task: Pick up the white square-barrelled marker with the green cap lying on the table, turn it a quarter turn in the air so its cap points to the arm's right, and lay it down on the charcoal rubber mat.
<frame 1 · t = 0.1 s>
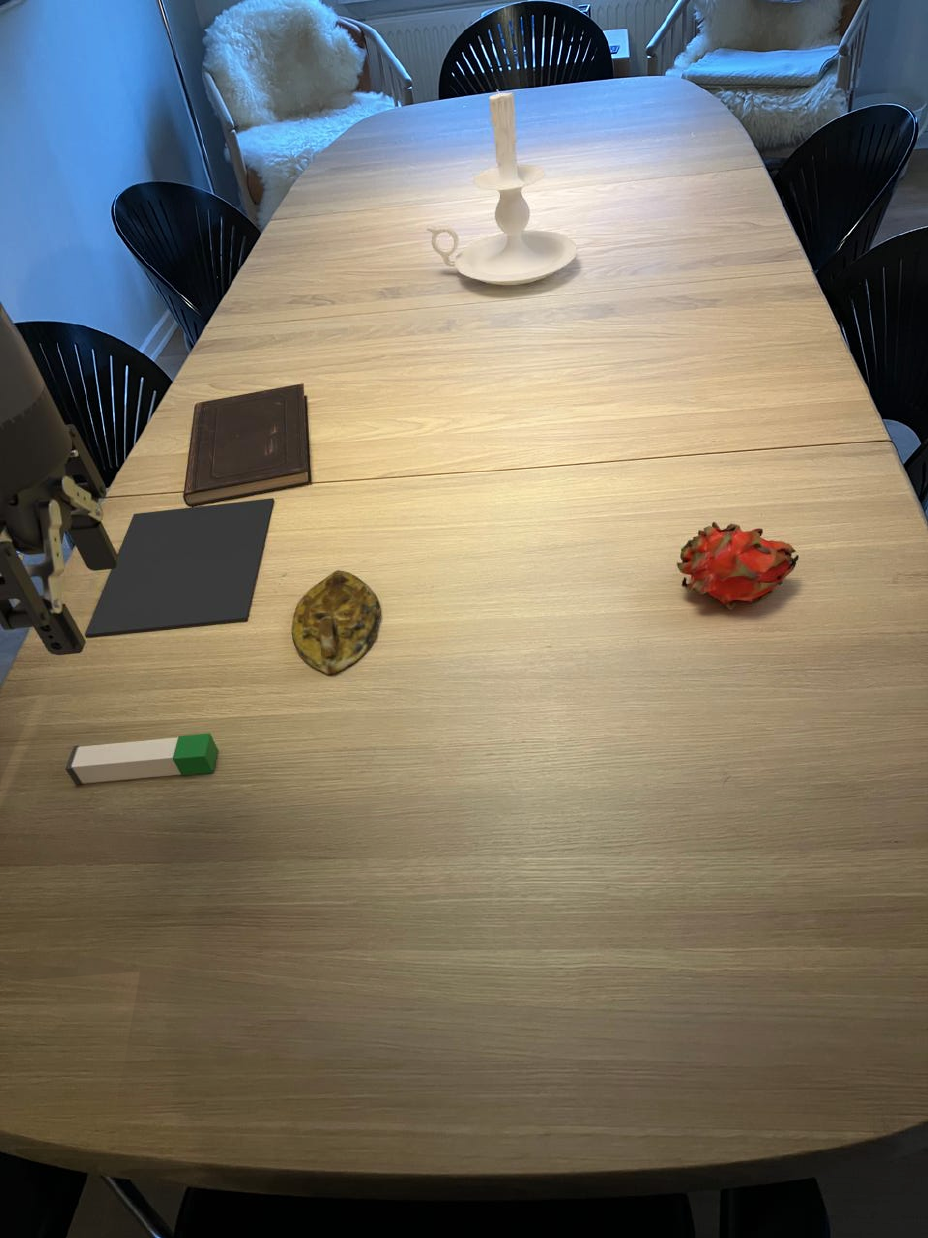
hand: (88, 606, 63), 25 cm above the table, tool pointing down, fingers open, 8 cm apart
marker: (215, 761, 85), on the table
hardcover book: (251, 450, 125), on the table
candlestick: (505, 274, 157), on the table
dragon fruit: (734, 591, 93), on the table
seal: (337, 625, 97), on the table
mat: (186, 564, 108), on the table
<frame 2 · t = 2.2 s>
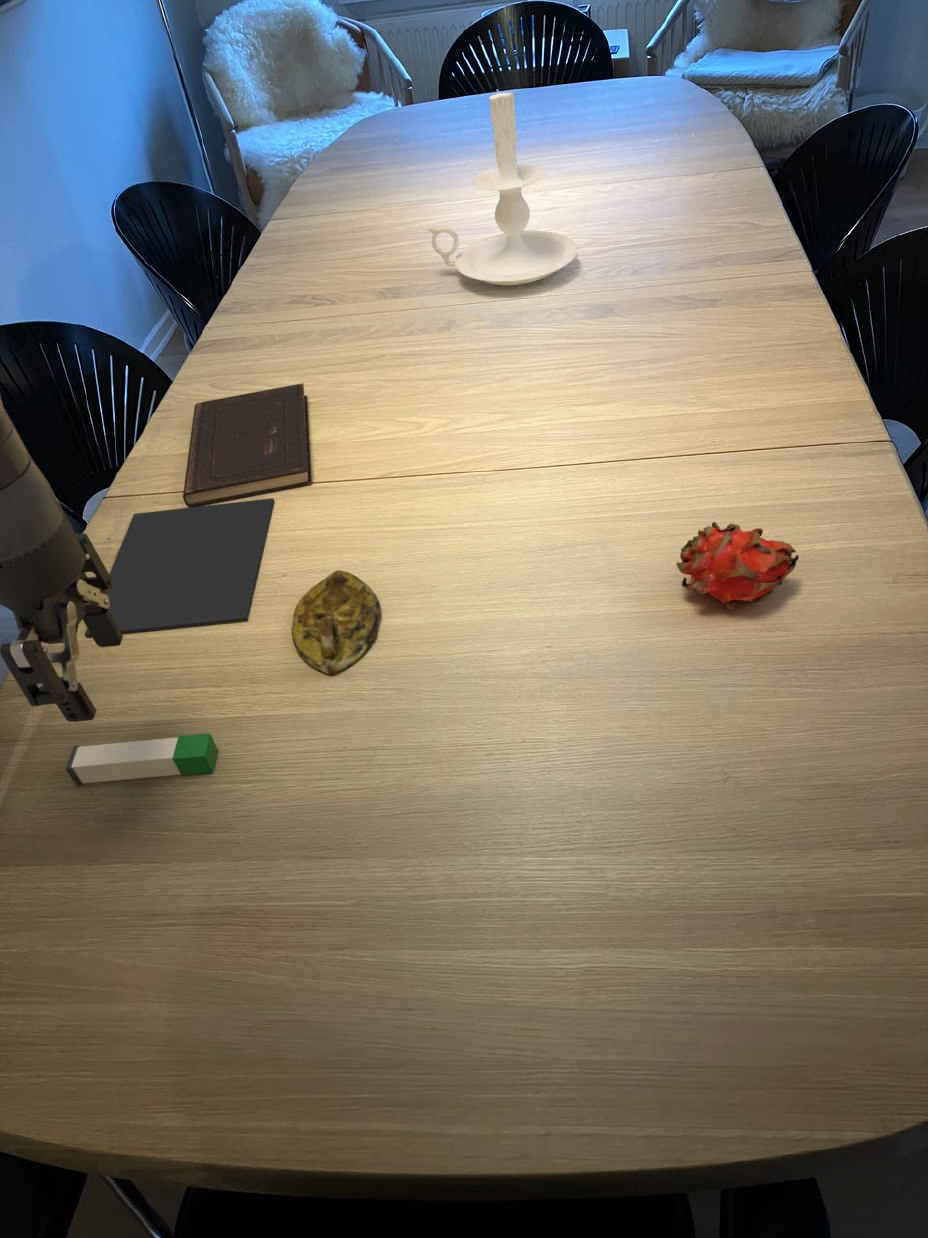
hand: (98, 679, 77), 12 cm above the table, tool pointing down, fingers open, 8 cm apart
nothing on the table moved.
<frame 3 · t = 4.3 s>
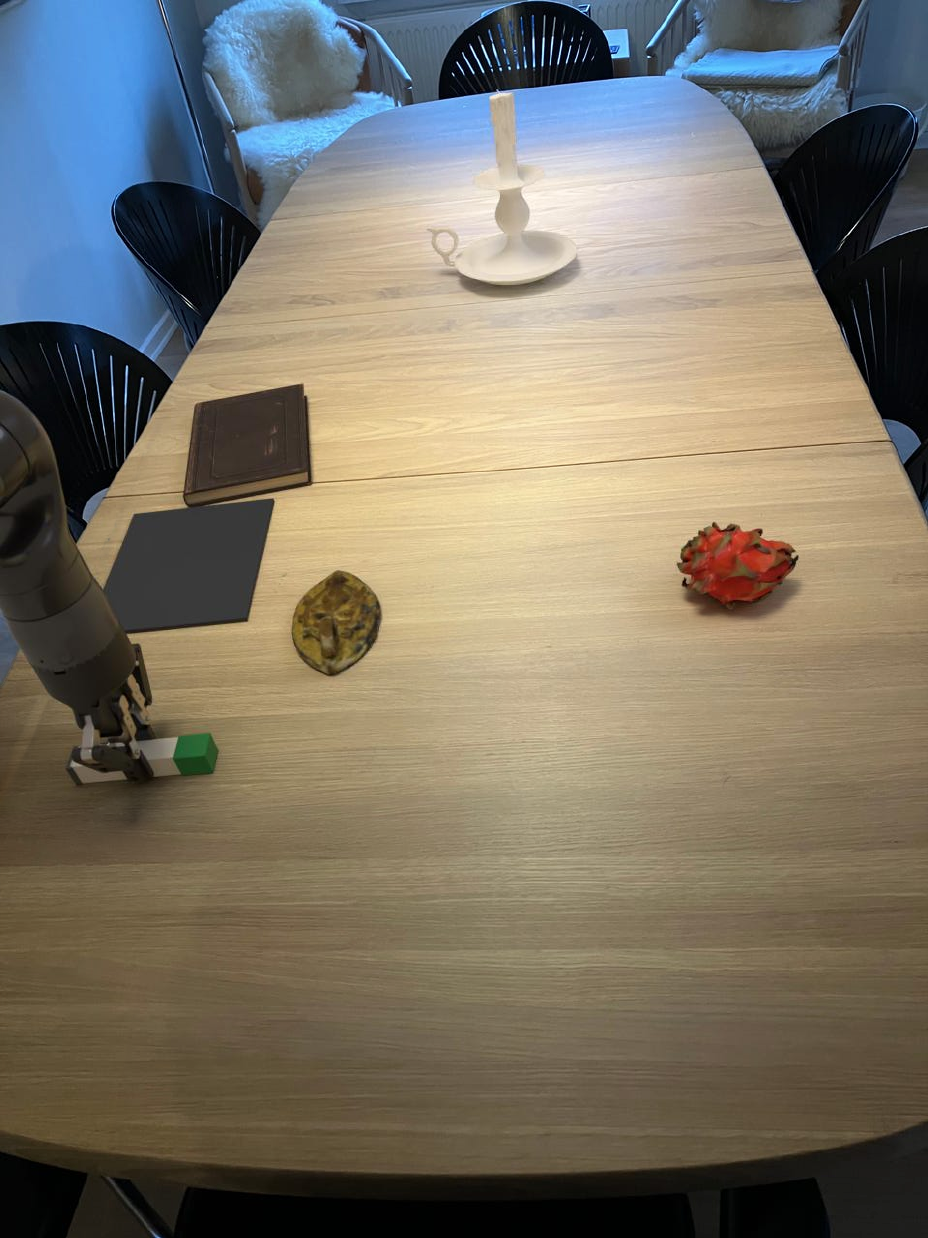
hand: (146, 765, 85), 0 cm above the table, tool pointing down, fingers closed on marker, 2 cm apart
marker: (215, 761, 85), on the table, touching gripper
everything else where it was.
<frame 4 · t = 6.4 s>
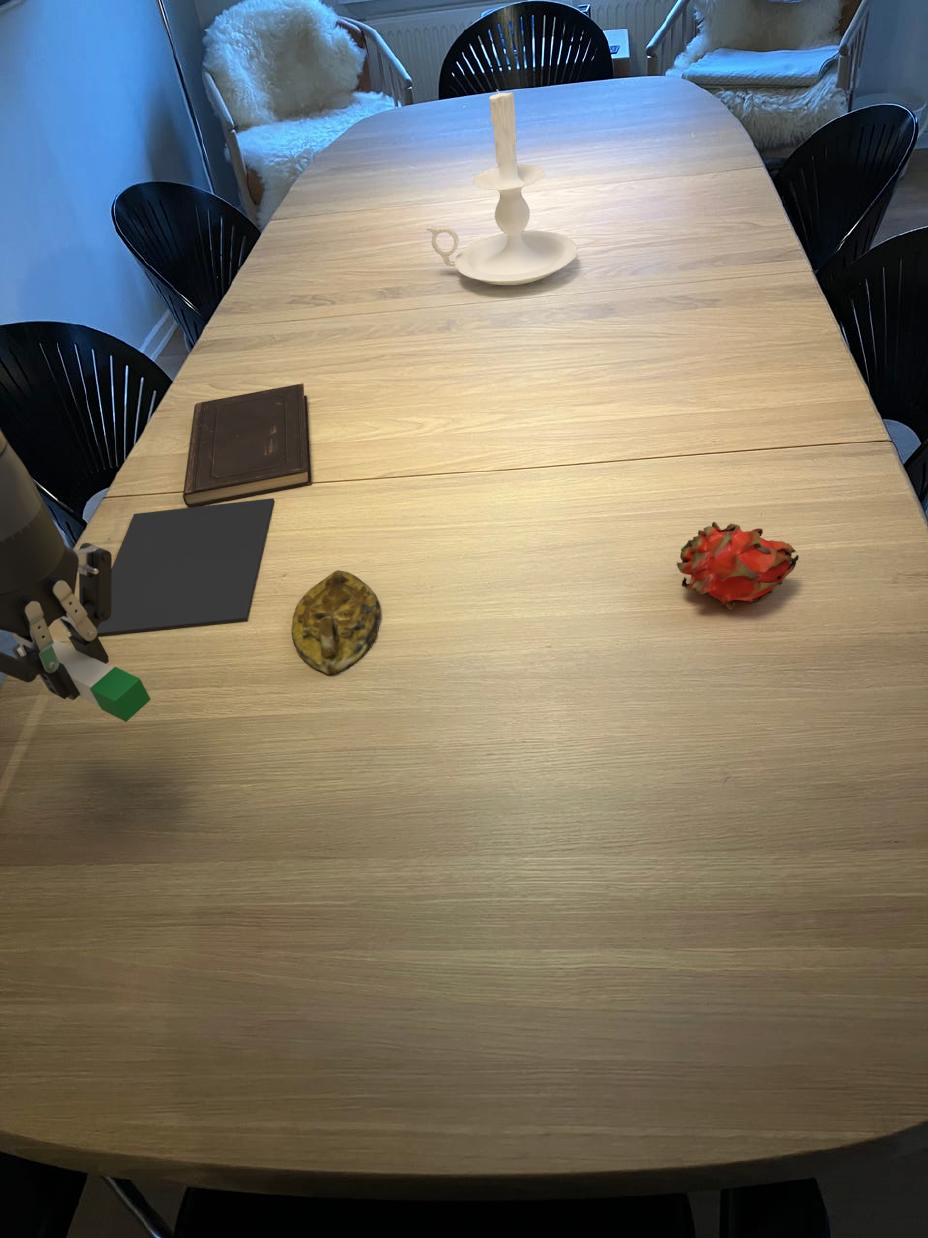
hand: (83, 682, 76), 13 cm above the table, tool pointing down, fingers closed on marker, 2 cm apart
marker: (139, 711, 73), point 13 cm above the table, touching gripper
everything else where it was.
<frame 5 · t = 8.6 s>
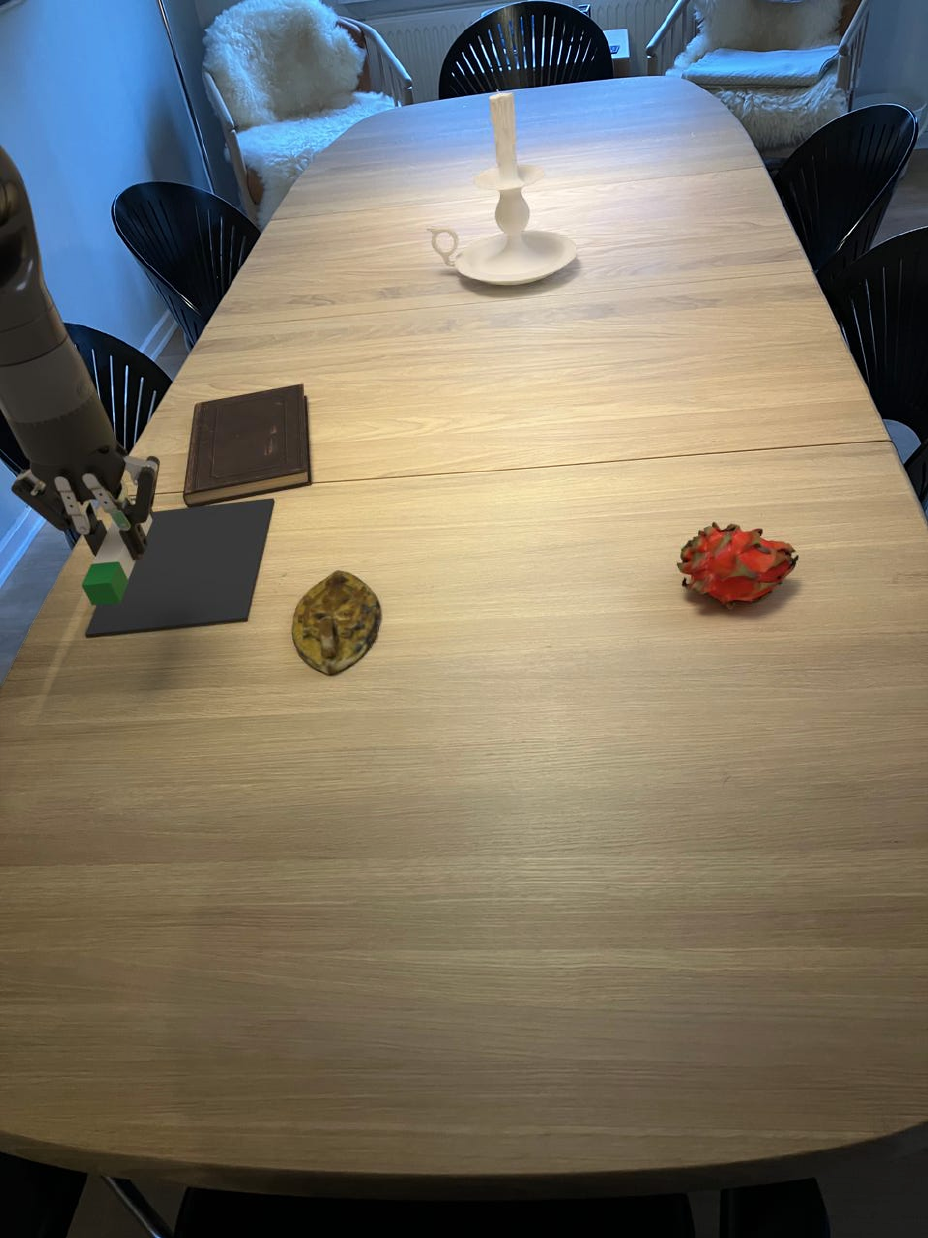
hand: (124, 555, 88), 13 cm above the table, tool pointing down, fingers closed on marker, 2 cm apart
marker: (106, 604, 84), point 13 cm above the table, touching gripper
everything else where it was.
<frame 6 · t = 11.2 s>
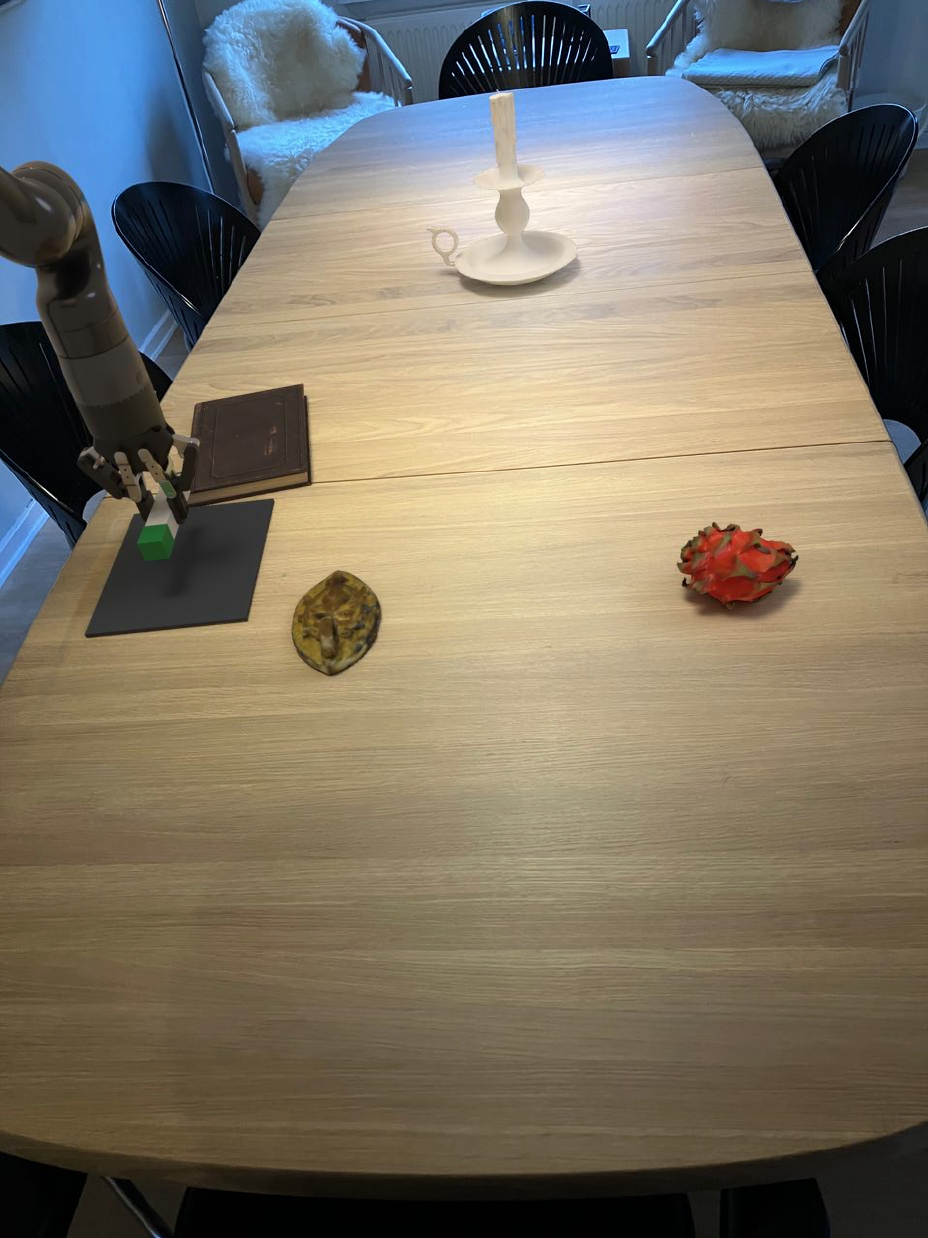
hand: (169, 520, 104), 6 cm above the table, tool pointing down, fingers closed on marker, 2 cm apart
marker: (157, 560, 99), point 6 cm above the table, touching gripper
everything else where it was.
when the fingers open (1 cm above the table, at t = 12.8 s): marker stays where it is, resting on mat.
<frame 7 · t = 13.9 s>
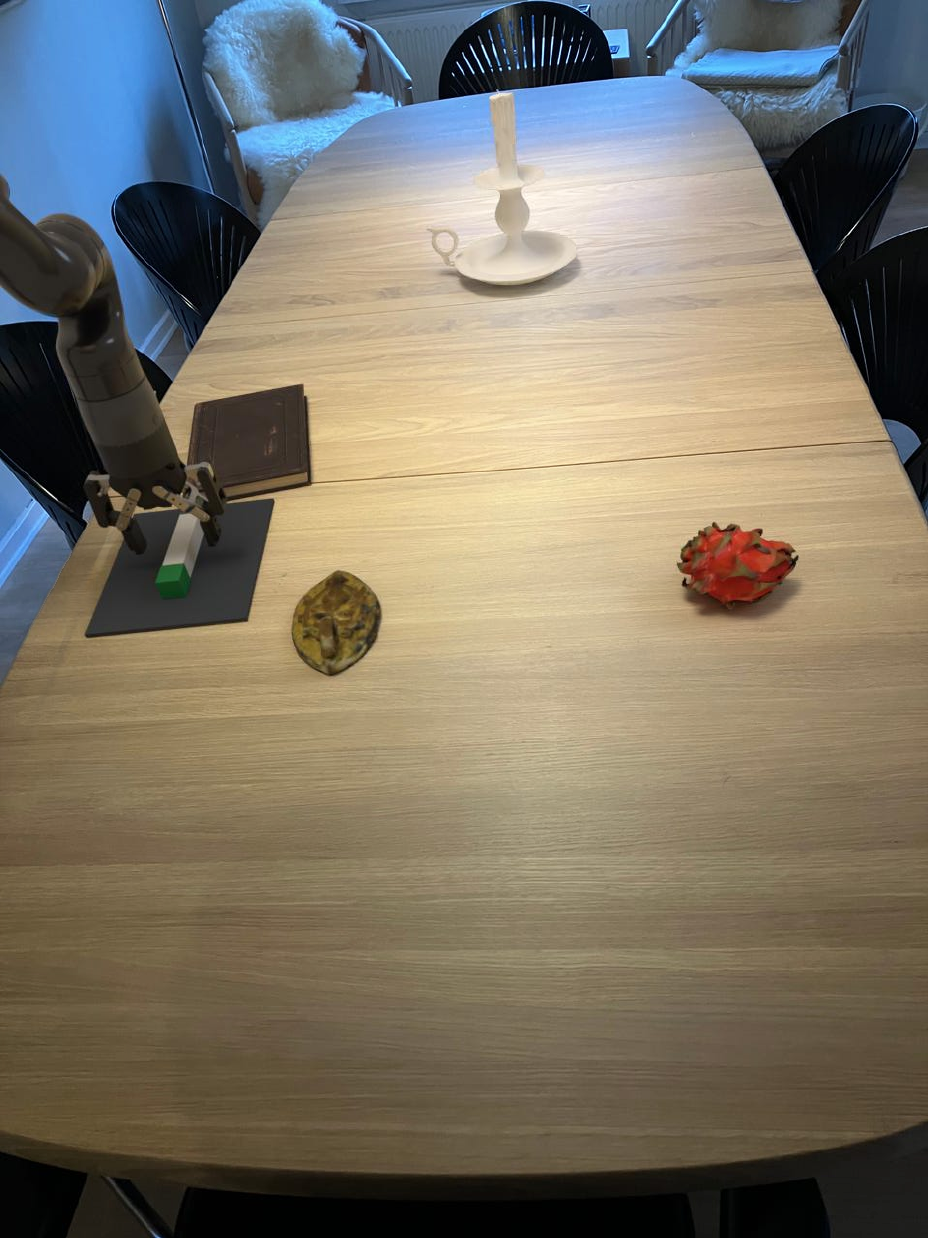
hand: (178, 546, 106), 3 cm above the table, tool pointing down, fingers open, 8 cm apart
marker: (174, 598, 103), resting on mat
everything else where it was.
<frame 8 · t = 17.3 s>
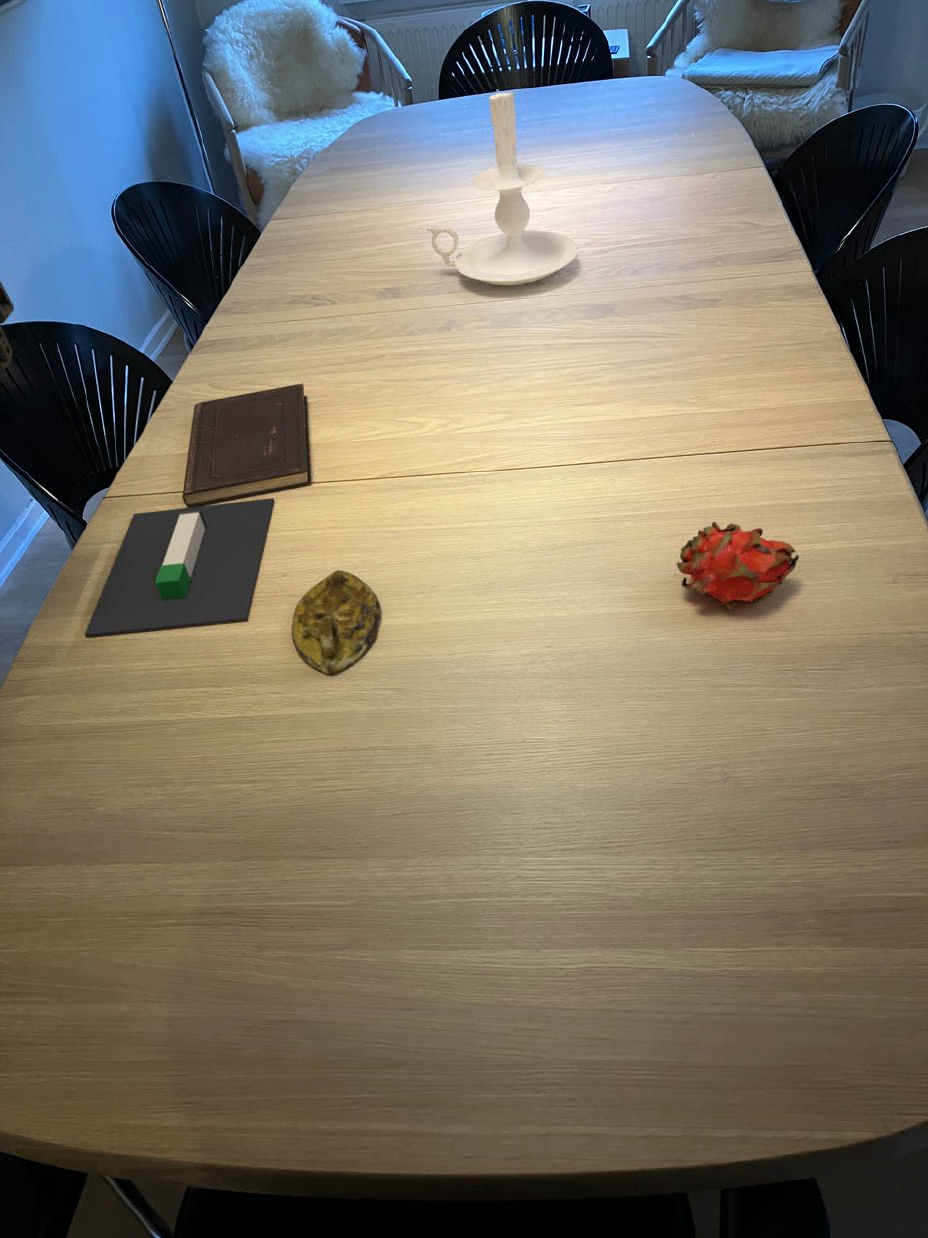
nothing on the table moved.
at the end: marker 0.1 cm from the target spot on the mat, point 0.5 cm above the mat's base; marker touching mat; the gripper is holding nothing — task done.
